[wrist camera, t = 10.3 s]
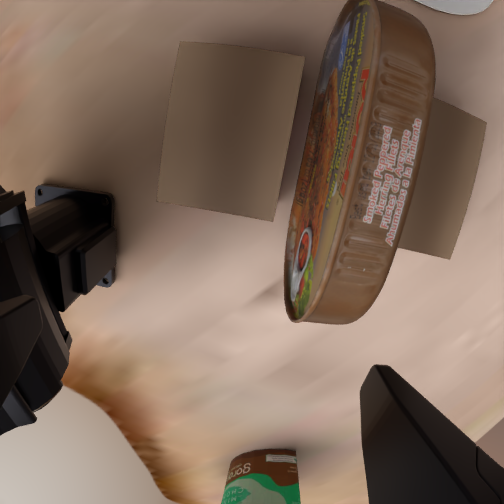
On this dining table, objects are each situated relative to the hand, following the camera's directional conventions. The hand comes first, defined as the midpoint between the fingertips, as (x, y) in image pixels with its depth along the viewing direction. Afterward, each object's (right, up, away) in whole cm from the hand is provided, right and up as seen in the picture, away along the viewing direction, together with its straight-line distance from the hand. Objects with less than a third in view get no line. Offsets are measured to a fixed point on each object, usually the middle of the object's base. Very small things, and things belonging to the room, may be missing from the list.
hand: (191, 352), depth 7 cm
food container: (+1, -20, +21) cm, 29 cm away
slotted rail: (+5, +8, +9) cm, 13 cm away
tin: (+6, +8, +10) cm, 14 cm away
